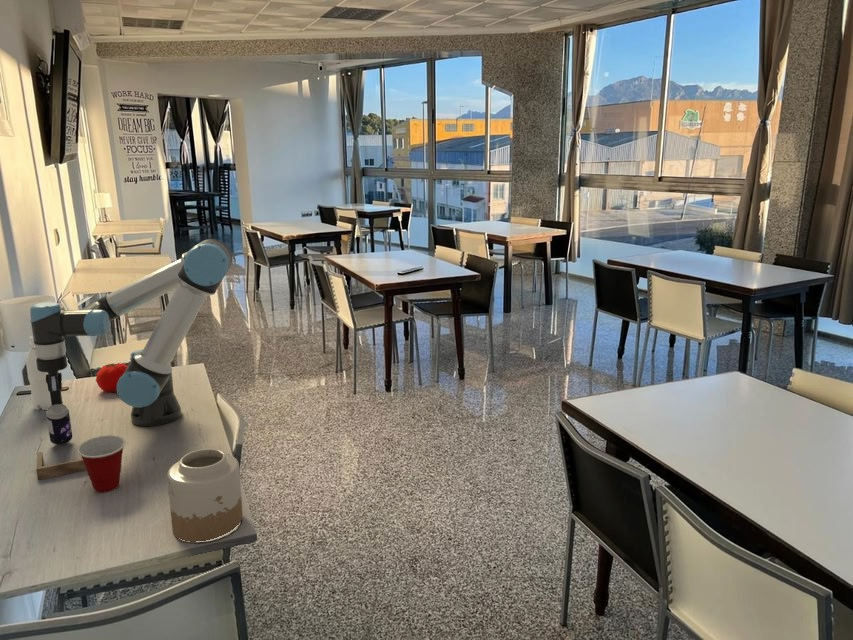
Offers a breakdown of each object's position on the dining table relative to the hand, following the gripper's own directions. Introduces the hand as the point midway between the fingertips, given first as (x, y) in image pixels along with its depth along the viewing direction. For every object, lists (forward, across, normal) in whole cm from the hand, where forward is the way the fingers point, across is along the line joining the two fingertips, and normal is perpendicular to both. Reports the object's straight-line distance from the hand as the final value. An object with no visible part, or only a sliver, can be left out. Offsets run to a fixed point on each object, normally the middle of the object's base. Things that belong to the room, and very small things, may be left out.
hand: (60, 430), depth 182 cm
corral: (+2, +19, +1) cm, 19 cm away
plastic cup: (+2, +38, +10) cm, 39 cm away
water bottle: (+4, -32, -5) cm, 32 cm away
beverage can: (+2, +3, 0) cm, 4 cm away
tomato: (+4, -40, +17) cm, 43 cm away
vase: (+2, +68, +30) cm, 74 cm away
